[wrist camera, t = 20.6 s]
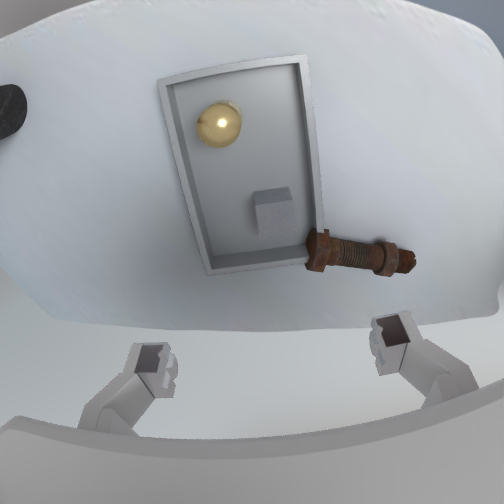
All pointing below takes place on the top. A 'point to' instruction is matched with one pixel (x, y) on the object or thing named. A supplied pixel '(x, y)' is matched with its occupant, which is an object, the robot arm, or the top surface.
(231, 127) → the brass cylinder
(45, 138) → the top surface
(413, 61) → the top surface
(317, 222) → the parts tray
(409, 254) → the bolt
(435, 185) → the top surface
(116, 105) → the top surface
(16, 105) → the travel mug
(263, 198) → the steel block
